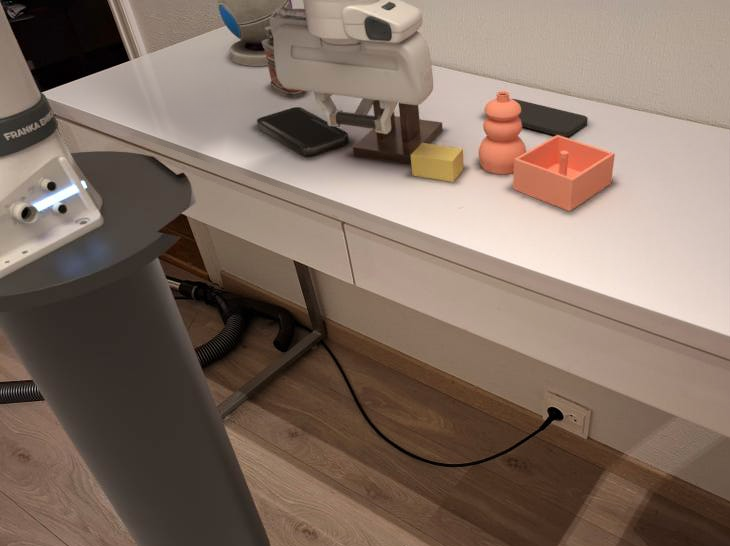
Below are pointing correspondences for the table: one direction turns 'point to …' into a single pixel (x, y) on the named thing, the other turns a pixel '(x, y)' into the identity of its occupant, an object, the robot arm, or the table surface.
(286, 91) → the lighter
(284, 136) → the phone
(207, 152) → the table surface
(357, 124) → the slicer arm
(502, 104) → the pottery
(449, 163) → the butter block
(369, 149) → the brown wooden frame
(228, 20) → the webcam
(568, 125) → the phone
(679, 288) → the table surface
